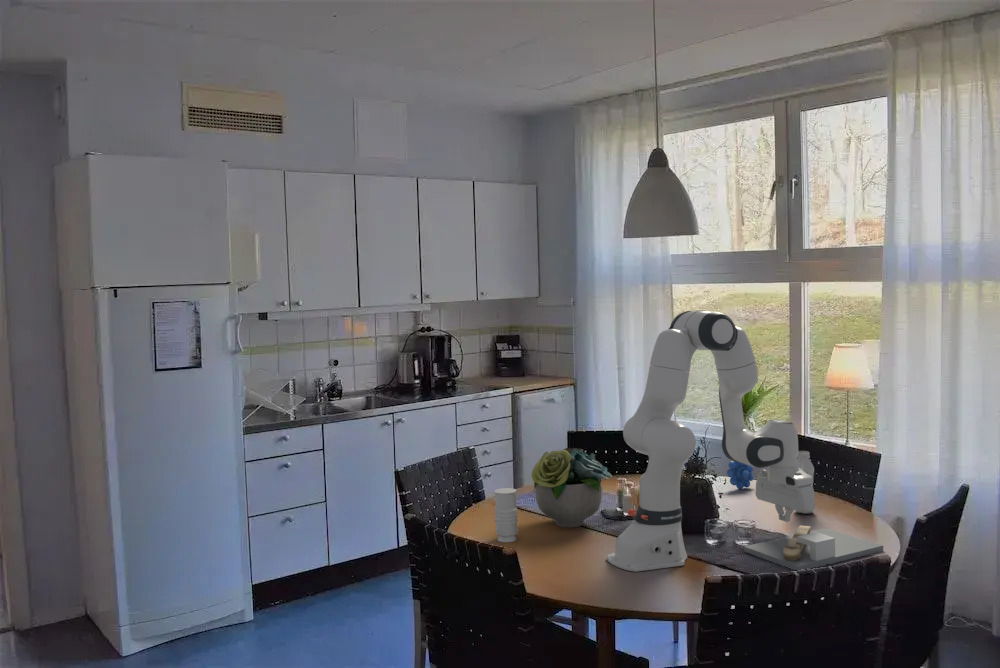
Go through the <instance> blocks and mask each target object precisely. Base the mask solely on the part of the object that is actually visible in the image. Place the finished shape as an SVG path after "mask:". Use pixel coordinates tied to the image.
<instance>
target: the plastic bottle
mask: <svg viewBox="0 0 1000 668" xmlns="http://www.w3.org/2000/svg"><path fill="white" fill-rule="evenodd" d="M797 459H798V462H799V468H800V469H802V470H803V471H804V472H806V473H807V474H809V475H810V476H812V477H813V478H814V474H815V467H814V465H813V463H812V461H811V460H810V459H811V456H810V452H809V451H807V450H798V454H797ZM813 484H814V483H813ZM813 484H810V485H811V486H812V487H813V488H814V485H813ZM815 509H816V507H815V508H814V510H813V511H811V512H807V513H803V512H800V511H797V510H794V511H795V512H796V513H798V514H799V513H800V514H804V515H806V514H812V513H814V512H815Z"/></svg>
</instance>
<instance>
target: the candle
mask: <svg viewBox="0 0 1000 668" xmlns="http://www.w3.org/2000/svg"><path fill="white" fill-rule="evenodd" d="M493 492H494V494H495V495H494V497H495V498H494V501H495V508H494V515H495V516H494V518H495V520H494V523H495V534H496V535H497V536H498V537H497V541H498V542H500V543H512V542H516V541H517V536H516V535H517V534H518V533H519V529H518V521H519V520H518V507H517V489H516V488H511V487H501V488H496V489H494V491H493Z"/></svg>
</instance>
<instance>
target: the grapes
mask: <svg viewBox="0 0 1000 668" xmlns="http://www.w3.org/2000/svg"><path fill="white" fill-rule="evenodd" d="M727 464H728V468H729V469H728V470H727V471H726V476H727V477H728V478H729V483H730V484H731V485H732V486H736V488H737V489H738V490H743V489H744V488H750V486H751V482H752V481H754V480H755V475H754V474H753V471H754V467H753V466H750V465H746V464H744V463H741V462H736V461H732V460H730V461H729V462H728V463H727Z"/></svg>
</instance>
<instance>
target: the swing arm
mask: <svg viewBox="0 0 1000 668" xmlns="http://www.w3.org/2000/svg"><path fill="white" fill-rule="evenodd" d="M811 528H812V527H811V526H810V525H799V526H798V527H797V529H796V530H795V532H794V534H793V535H792V536H793V537H792V539H791V540H790V541H795V542H796V547H795V548H790V547H788V545H787V546H784V547H783V557H784V558H787V559H792V560H796V559H800V558H801V551H802V549H803V548H804V546H805V544H802V543H799V542H797V536H801V535H805V534H810V533H811V531H812V529H811Z"/></svg>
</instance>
